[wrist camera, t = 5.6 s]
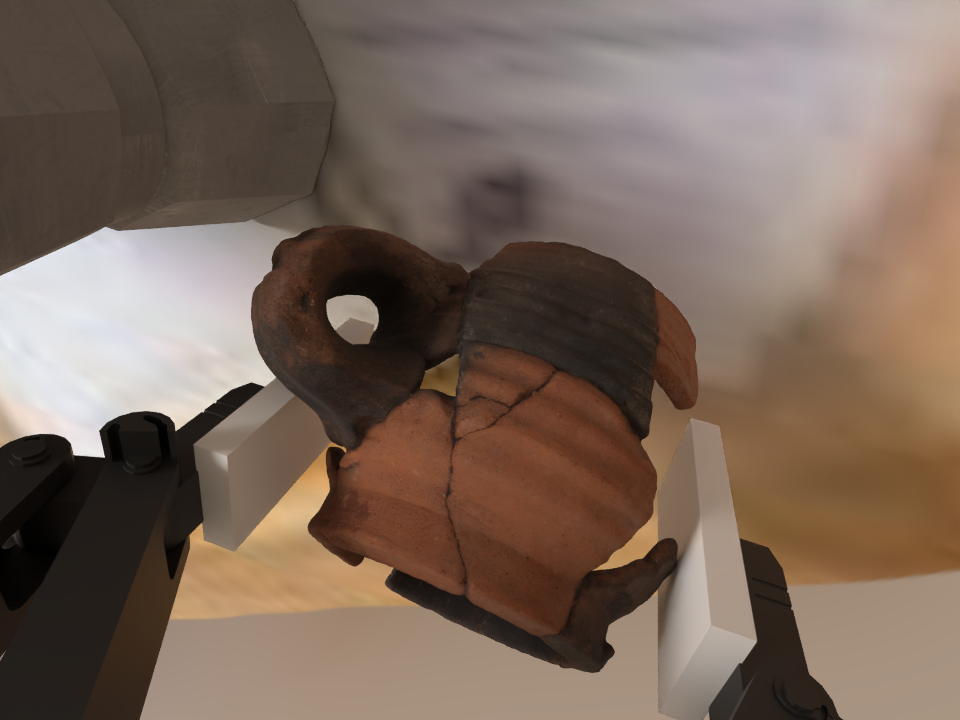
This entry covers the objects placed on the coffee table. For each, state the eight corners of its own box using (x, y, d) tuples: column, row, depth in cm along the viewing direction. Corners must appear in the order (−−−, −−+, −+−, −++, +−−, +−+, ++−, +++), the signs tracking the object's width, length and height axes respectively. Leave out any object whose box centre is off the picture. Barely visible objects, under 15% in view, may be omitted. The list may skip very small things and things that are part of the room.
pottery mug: (795, 394, 15) (741, 744, 11) (552, 426, 22) (467, 639, 18) (462, 19, 10) (155, 392, 6) (298, 221, 18) (113, 446, 14)
